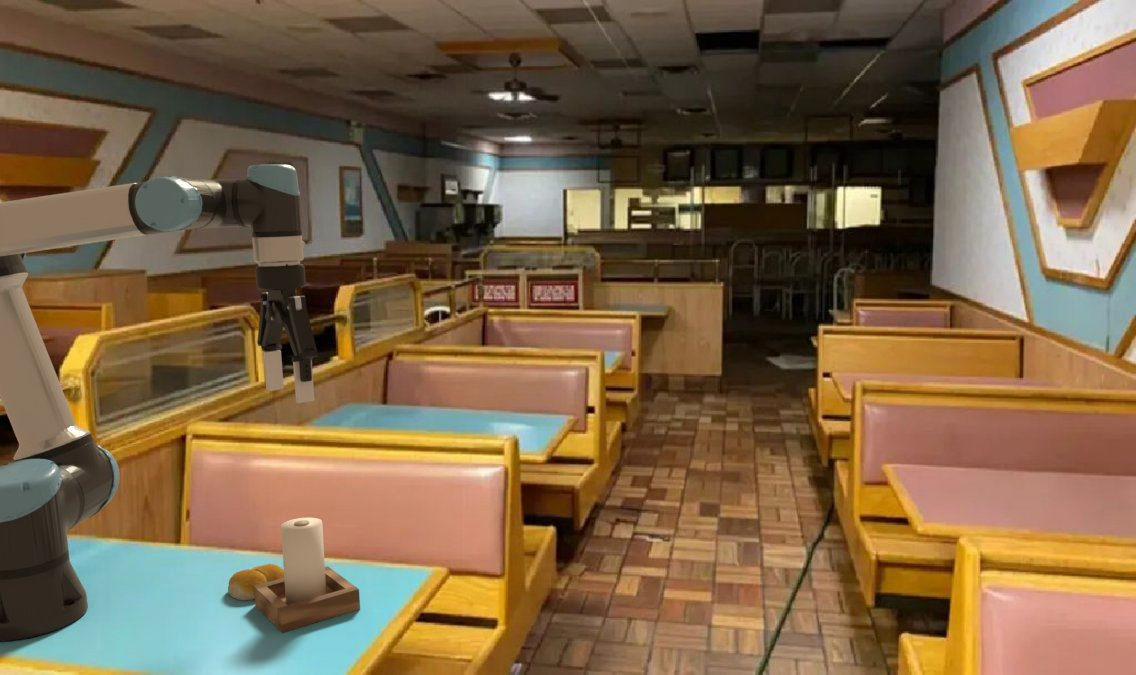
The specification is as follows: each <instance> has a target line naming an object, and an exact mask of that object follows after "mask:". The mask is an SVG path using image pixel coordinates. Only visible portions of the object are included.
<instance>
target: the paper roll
mask: <svg viewBox="0 0 1136 675" xmlns="http://www.w3.org/2000/svg"><path fill="white" fill-rule="evenodd" d="M323 530H324V529H323V521H322V520H321V519H320V518H316V517H298V518H294V519H290V520H287V521H285V522H283V523H282V524H280V532H281V546H282V548H281V549H282V561H283V562H282V564H283V570H284V582H285V597H286V604H287V605H290V604H294V603H297V602H301V601H304V600H308V599H311V598H315V597H318V596H322V595H325V594H326V580H325V567H326V565H325V549H324V533H323V532H324V531H323Z"/></svg>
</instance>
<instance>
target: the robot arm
mask: <svg viewBox="0 0 1136 675" xmlns="http://www.w3.org/2000/svg"><path fill="white" fill-rule="evenodd" d="M246 173H247V174H246V175H245V176H246V177H242V178H236V179H234V178H233V179H232V178H231V179H208V178H206V179H204V178H190V177H189V178H188V177H180V176H176V175H175V176H174V175H164V176H156V177H153V178H151V179H148V180H146V181H142V182H130V183H123V184H117V185H112V186H111V185H110V186H104V187H98V188H97V187H96V188H91V189H84V190H75V191H70V192H63V193H57V194H56V193H55V194H50V195H43V196H37V197H30V198H22V199H15V200H8V201H1V202H0V401H1V402H2V405H3V408H4V410H5V412H6V415H7V418H8V419H9V422H10V425H11V427H12V430H13V433H14V435H15V437H16V439H17V442H18V448H17V450H16V451H15V453H14V455H13V457H12V459H13V461H12V462H8V463H7V464H5V465H0V642H2V641H16V640H22V639H28V638H33V637H36V636H41V635H44V634H48V633H50V632H54V631H57V630H59V629H61V628H64V627H66V626H68V625H71V624H73V623H74V622H75V621H77V620H79V619H80V618H81V617H82V616H84V614H85V613H86V612H87V611H88V609H89V608H88V607H89V604H88V596H87V592H86V589H85V587H84V585H83V584H82V582H81V580H80V578H79V576H78V574H77V572H76V570H75V569H74V567H73V564H72V562H71V560H70V552H69V543H68V541H69V540H68V535H67V534H68V533H67V532H68V531H70V530H72V529H73V528H74V527H76V526H78V525H79V524H81V523H82V522H84V521H85V520H87V519H90V518H92V517H94V516H95V515H97V514H98V513H99V512H101V511H102V510H103V509H104V508H105V506H107V505H108V504H109V503H110V502H111V501H112V499H113V498H114V497H115V495H116V493H117V490H118V488H119V485H120V478H121V477H120V470H119V464H118V463H117V461H116V459H115V457H114V455H113V454H112V453H111V452H110V451H109V450H107V449H106V448H103V447H102V446H101V445H100V444H97V443H95V441H94V439H93V436H92V433H91V431H90V430H89V429H87V428H84V427H81V426H79V425H77V423H76V420H75V419H74V416H73V413H72V411H71V408H70V405H69V404H68V401H67V398H66V396H65V393H64V391H63V388H62V385H61V383H60V381H59V378H58V376H57V373H56V370H55V367H54V364H53V363H52V360H51V358H50V355H49V353H48V352H49V351H47V348H46V345H45V342H44V340H43V337H42V336H41V332H40V330H39V328H38V327H39V326H38V325H37V322H36V320H35V317H34V315H33V312H32V310H31V307H30V304H29V302H28V299H27V297H26V294H25V292H24V290H23V285H24V283H25V282H26V280H27V278H28V276H29V274H28V271H27V269H26V266H25V263H24V262H25V261H26V258H27V253H32V252H33V253H34V252H38V251H39V252H40V251H46V250H54V249H60V248H65V247H73V246H74V247H75V246H79V245H80V246H81V245H87V244H94V243H100V242H108V241H115V240H120V239H127V238H133V237H141V236H148V235H157V234H164V233H170V232H171V233H172V232H179V231H188V230H205V229H223V228H224V229H225V228H240V227H241V228H249V227H251V232H252V233H251V235H252V238H251V239H252V240H251V241H252V252H253V261H254V263H257V266H256V267H255V269H254V272H255V283H256V284H255V285H256V288H257V290H260V291H264V292H260V295H259V297H260V308H259V309H260V311H259V321H258V332H257V345H258V347H260V348H261V350H262V352H263V363H264V364H263V365H264V367H263V368H264V375H265V376H264V378H265V389H266V391H267V392H271V391H279V390H284V389H285V388H284V386H285V385H284V374H283V372H284V371H283V362H282V351H281V350H282V349H283V346H282V344H281V337H282V334H283V330H285V333H286V335H287V336H286V337H287V338H288V342H289V345H290V347H291V348H290V349H292V353H293V356H292V357H291V360H290V361H291V363H292V365H293V380H294V390H295V391H294V394H295V395H294V396H295V403H296V404H302V403H303V404H304V403H309V402H315V386H314V385H315V384H314V376H313V375H314V374H313V361H312V360H314V358H317V357H318V353H319V352H318V348H317V345H316V341H315V337H314V333H313V332H314V331H313V329H312V325H311V321H310V318H309V314H308V309H307V299H306V296H305V295H297V292H296V291H297V289H302V288H304V287H305V286H306V285H307V283H306V281H307V279H306V270H305V265H304V264H303V263H301V262H302V261H303V260H304V259H305V257H304V247H306V242H305V241H303V231H302V216H301V214H302V212H301V197H300V196H301V192H300V189H299V188H300V187H299V180H298V174H297V173H298V172H297V170H296V168H295V167H294V166H292V165H291V164H282V163H281V164H280V163H279V164H277V163H275V164H271V163H270V164H269V163H268V164H255V165H254V164H252V165H249V166H248V167H247V171H246Z"/></svg>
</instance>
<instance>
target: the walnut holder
mask: <svg viewBox="0 0 1136 675" xmlns="http://www.w3.org/2000/svg"><path fill="white" fill-rule="evenodd" d="M325 580H326V594H325V595H322V596H318V597H315V598H311V599H308V600H304V601H301V602H297V603H294V604H290V605H287V604H286V597H285V582H284V578H282V579H278V580H274V581H270V582H267V583H263V584H259V585H255V586H254V597H255V600H254V605H255V608H257V609H258V610H259V611H260V612H261V613H262V614H264V616H265V617H266V618H267V619H268V620H269V621H270V622H271V623H272V624H273V625H274V626H275V627H276V628H278V630H279V631H280V632H282V633H286V632H289V631H293V630H296V629H298V628H299V629H300V628H302V627H305V626H306V627H307V626H309V625H312V624H315V623H319V622H322V621H325V620H328V619H332V618H336V617H338V616H342V615H345V614H349V613H352V612H356V611H359V610H361V600H360V589H359V587H357V586H355V585H354V584H353V583H351V581H348V580H347V579H346V578H344V576H342V575H340V574H339V573H338V572H337V571H335V570H334V569H333V568H331V567H330V566H329V565H325Z"/></svg>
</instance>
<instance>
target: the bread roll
mask: <svg viewBox="0 0 1136 675" xmlns="http://www.w3.org/2000/svg"><path fill="white" fill-rule="evenodd" d="M282 578H284V568H282V567H281V566H280V565H278V564H274V563H268V564H267V563H266V564H263V565H259V566H255V567H253V568H251V569H249V568H248V569H243V570H239V571H236V572H235V573H233V575H232V576H231V577H230V578H229V580H228V585H227V592H228V595H230V596H231V597H232V598H233V599H235V598H236V599H235V600H238V601H254V600H253V599H255V597H254V586H255V585H259V584H263V583H267V582H270V581H274V580H278V579H282Z"/></svg>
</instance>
